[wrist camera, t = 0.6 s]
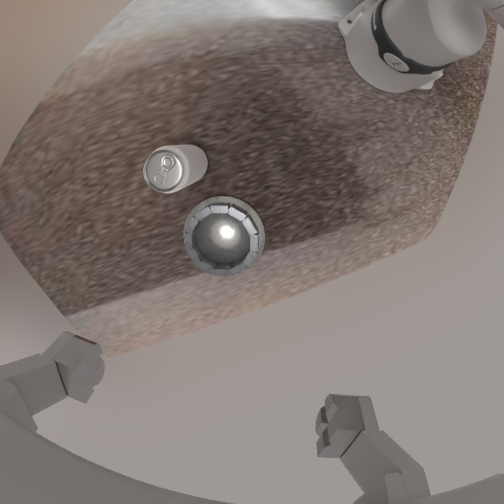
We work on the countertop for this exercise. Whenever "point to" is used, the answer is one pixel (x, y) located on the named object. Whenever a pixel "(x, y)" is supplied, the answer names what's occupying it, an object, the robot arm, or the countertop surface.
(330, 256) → the countertop surface
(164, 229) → the countertop surface
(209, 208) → the notched rim bowl
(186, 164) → the can
